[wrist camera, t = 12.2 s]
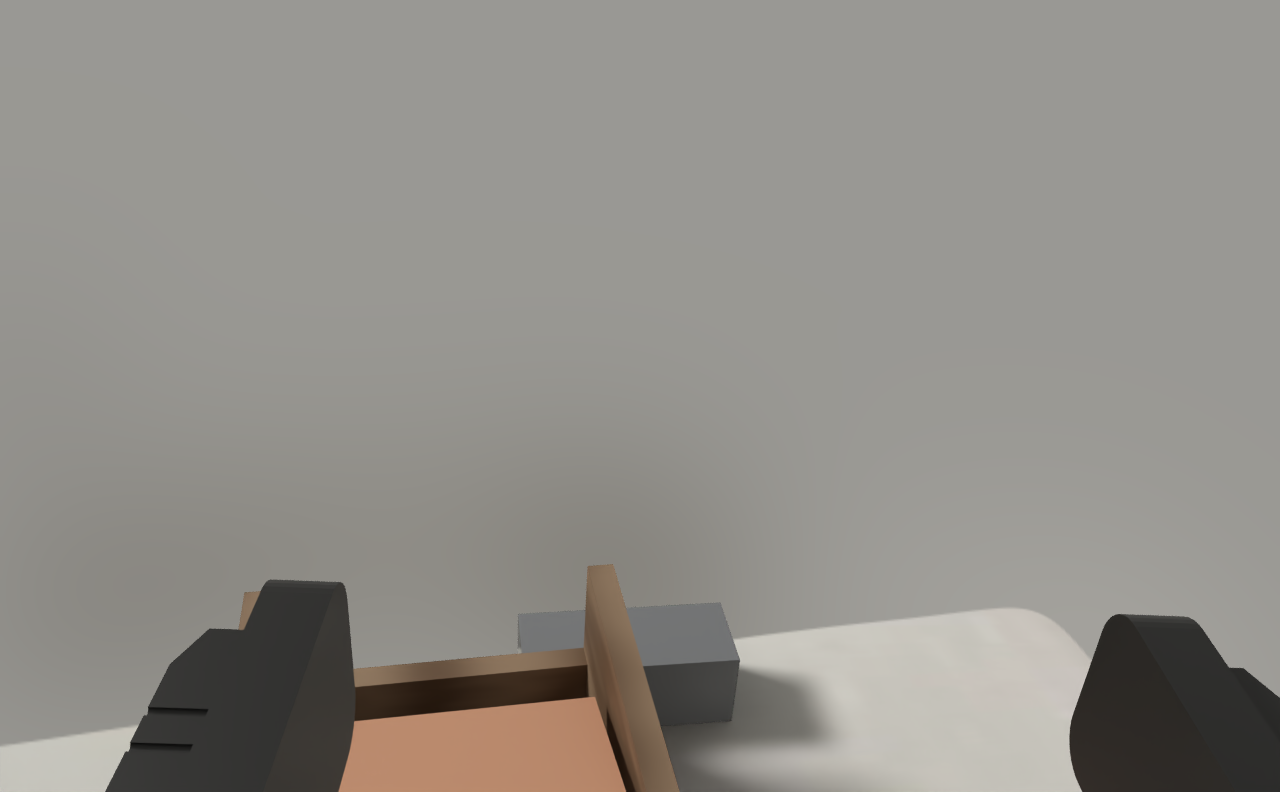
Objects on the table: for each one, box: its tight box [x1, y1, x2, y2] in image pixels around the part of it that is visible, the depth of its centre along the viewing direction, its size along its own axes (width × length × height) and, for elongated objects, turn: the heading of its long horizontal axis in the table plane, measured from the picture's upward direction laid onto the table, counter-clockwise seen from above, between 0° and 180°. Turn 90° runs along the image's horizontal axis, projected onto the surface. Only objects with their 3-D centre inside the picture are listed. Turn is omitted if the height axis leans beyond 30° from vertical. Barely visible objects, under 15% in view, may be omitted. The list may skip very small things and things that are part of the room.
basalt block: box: [518, 603, 740, 726], centre depth 58 cm, size 4×4×11 cm
